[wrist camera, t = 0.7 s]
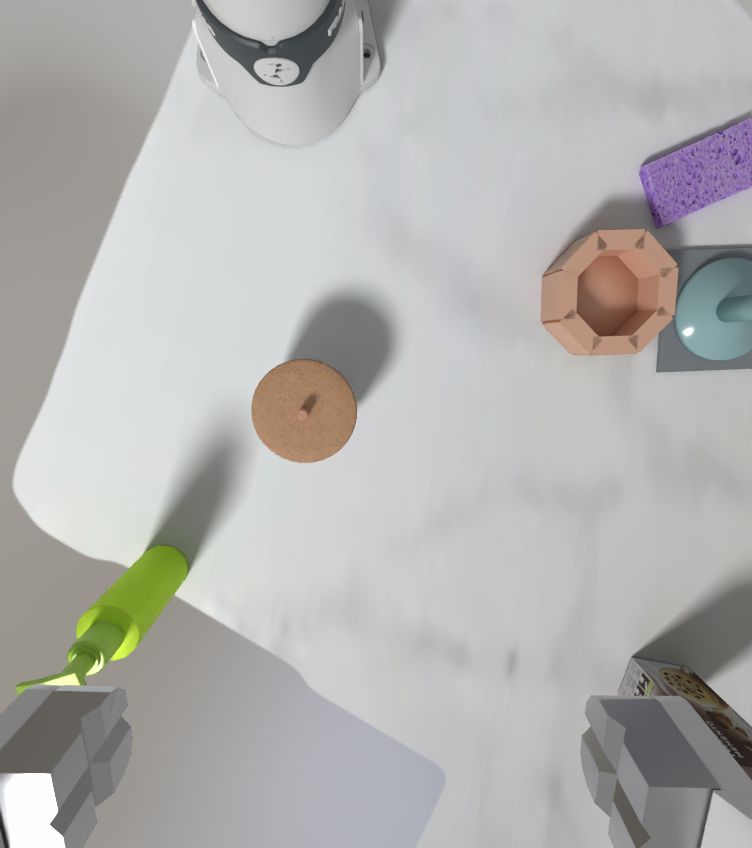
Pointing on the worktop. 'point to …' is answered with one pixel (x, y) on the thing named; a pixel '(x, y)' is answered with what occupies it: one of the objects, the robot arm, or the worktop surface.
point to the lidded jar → (304, 410)
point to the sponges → (699, 174)
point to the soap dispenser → (121, 616)
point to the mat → (669, 345)
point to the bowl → (609, 293)
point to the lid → (716, 310)
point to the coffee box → (692, 703)
